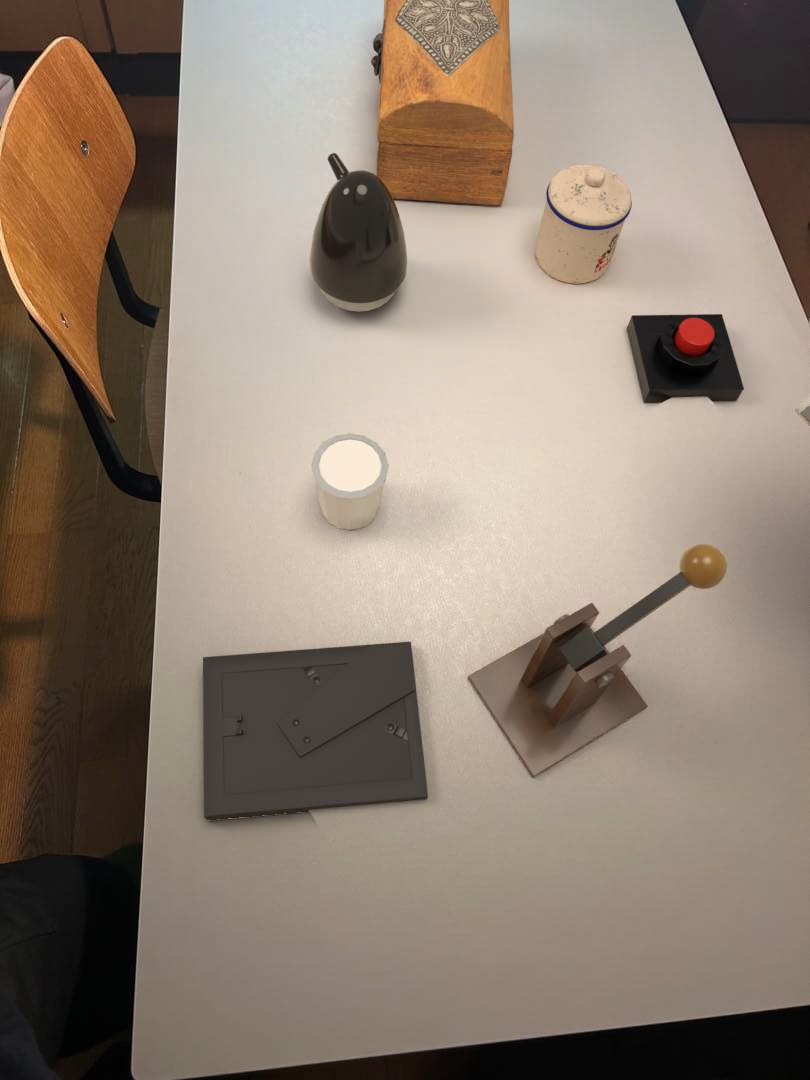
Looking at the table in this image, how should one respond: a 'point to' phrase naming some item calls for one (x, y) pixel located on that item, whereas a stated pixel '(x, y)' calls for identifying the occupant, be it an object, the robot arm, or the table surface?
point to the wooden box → (445, 100)
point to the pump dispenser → (358, 241)
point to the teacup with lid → (581, 223)
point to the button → (694, 336)
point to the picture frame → (310, 730)
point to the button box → (682, 360)
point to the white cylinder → (349, 479)
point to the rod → (648, 604)
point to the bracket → (556, 695)
